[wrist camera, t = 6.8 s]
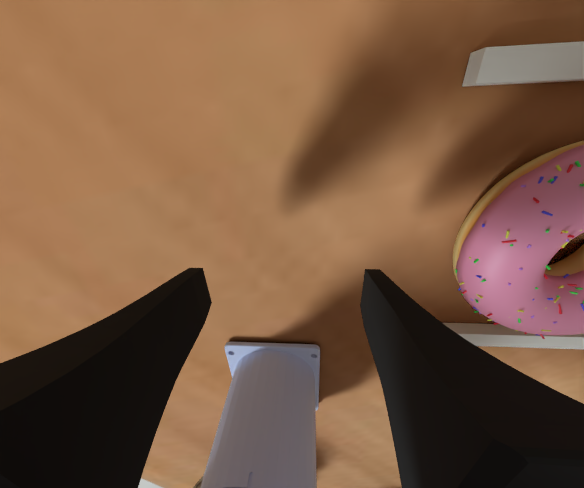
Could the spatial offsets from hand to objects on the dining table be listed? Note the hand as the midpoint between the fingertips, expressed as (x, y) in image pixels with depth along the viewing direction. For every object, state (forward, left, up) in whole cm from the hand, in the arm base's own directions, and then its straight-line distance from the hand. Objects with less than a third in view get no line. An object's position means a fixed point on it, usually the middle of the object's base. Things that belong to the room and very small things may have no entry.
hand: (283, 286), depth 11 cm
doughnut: (0, -15, -5) cm, 16 cm away
